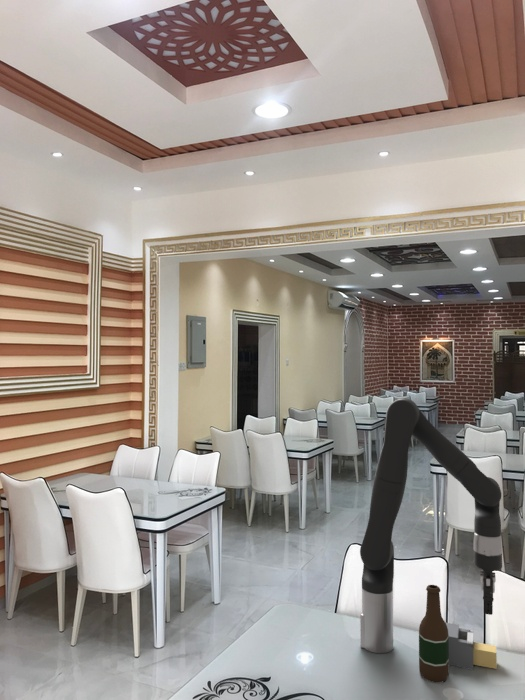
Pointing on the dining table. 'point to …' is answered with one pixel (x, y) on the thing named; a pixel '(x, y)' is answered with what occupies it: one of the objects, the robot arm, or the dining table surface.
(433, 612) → the beer bottle
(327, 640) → the dining table surface
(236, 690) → the dining table surface
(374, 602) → the robot arm
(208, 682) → the dining table surface
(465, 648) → the dispenser
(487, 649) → the yellow rectangular block
